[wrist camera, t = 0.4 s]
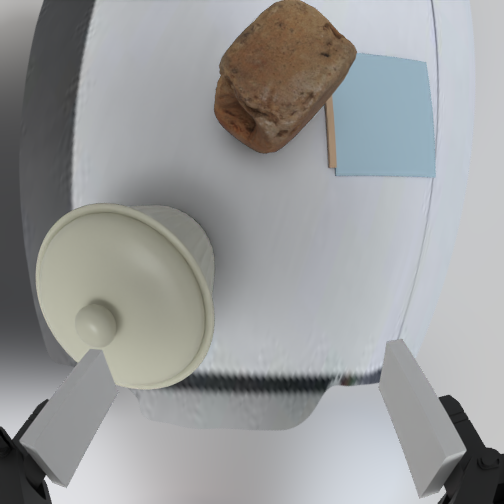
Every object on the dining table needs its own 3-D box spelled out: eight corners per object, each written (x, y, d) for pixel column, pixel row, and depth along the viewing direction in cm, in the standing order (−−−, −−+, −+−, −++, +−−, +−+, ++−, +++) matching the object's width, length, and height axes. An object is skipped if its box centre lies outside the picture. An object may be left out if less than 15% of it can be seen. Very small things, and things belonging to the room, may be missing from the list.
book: (319, 52, 32) (320, 50, 31) (424, 63, 31) (427, 61, 31) (329, 175, 37) (330, 176, 36) (433, 177, 36) (437, 177, 35)
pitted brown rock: (279, 63, 33) (289, -21, 14) (326, 101, 34) (381, 48, 15) (221, 126, 36) (173, 91, 17) (268, 165, 37) (269, 167, 18)
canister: (183, 338, 44) (134, 446, 24) (88, 260, 42) (-9, 326, 21) (264, 247, 40) (259, 335, 20) (154, 157, 37) (49, 160, 17)
